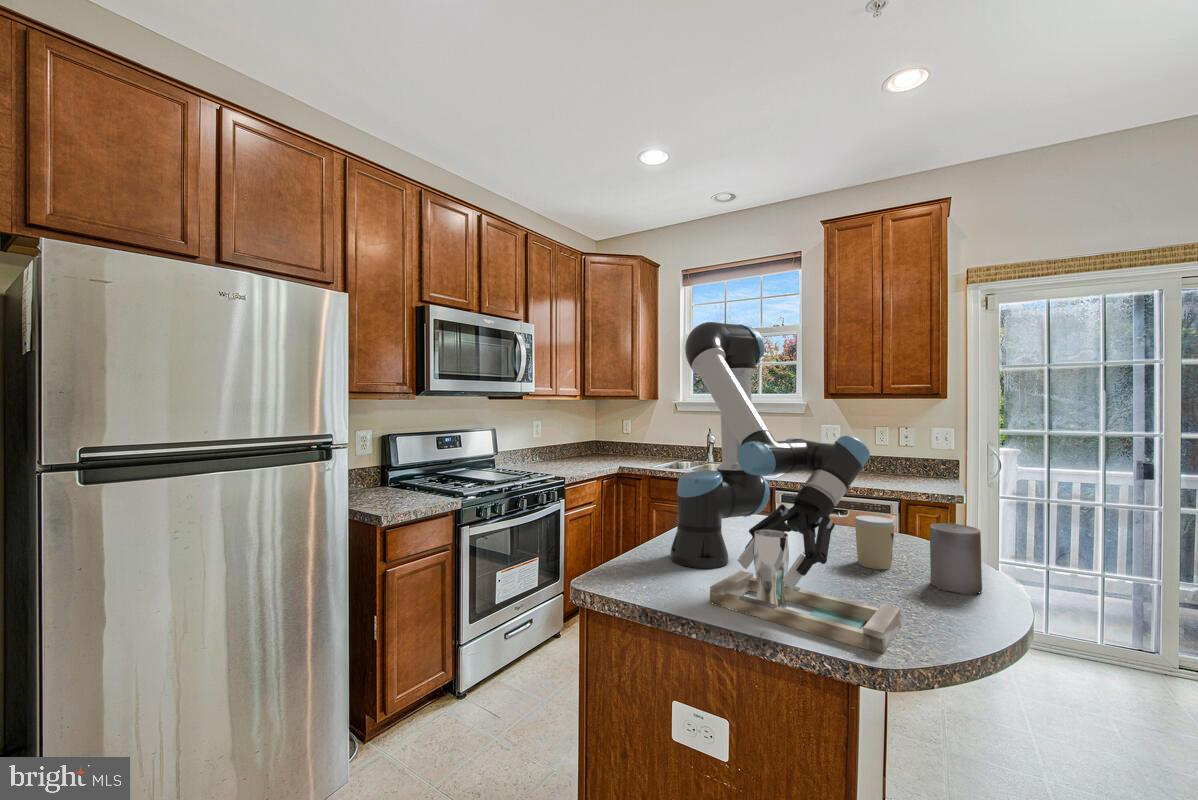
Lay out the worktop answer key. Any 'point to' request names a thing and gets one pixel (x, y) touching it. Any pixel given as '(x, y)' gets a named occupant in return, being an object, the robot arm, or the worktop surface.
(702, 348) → the robot arm
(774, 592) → the beer glass
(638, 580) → the worktop surface
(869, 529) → the coffee cup
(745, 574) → the wooden serving tray
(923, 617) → the worktop surface
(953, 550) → the dark gray cylinder
